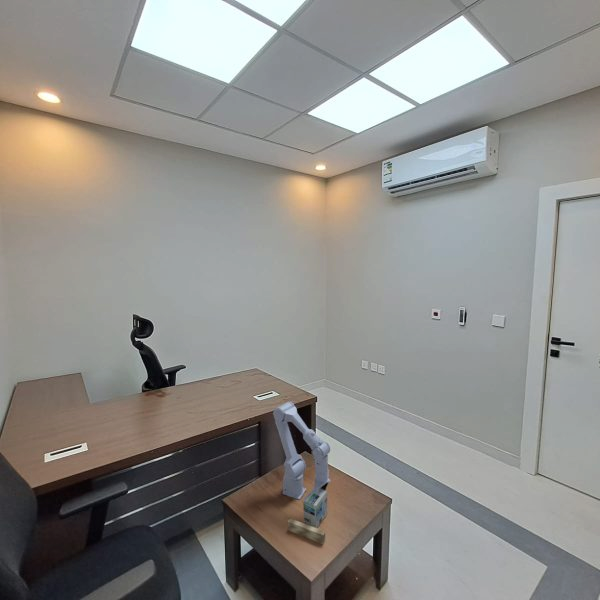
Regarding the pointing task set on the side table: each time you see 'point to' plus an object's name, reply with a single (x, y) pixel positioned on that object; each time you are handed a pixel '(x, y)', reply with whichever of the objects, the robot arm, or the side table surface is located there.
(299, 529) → the metal block
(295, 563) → the side table surface
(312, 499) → the light bulb box
